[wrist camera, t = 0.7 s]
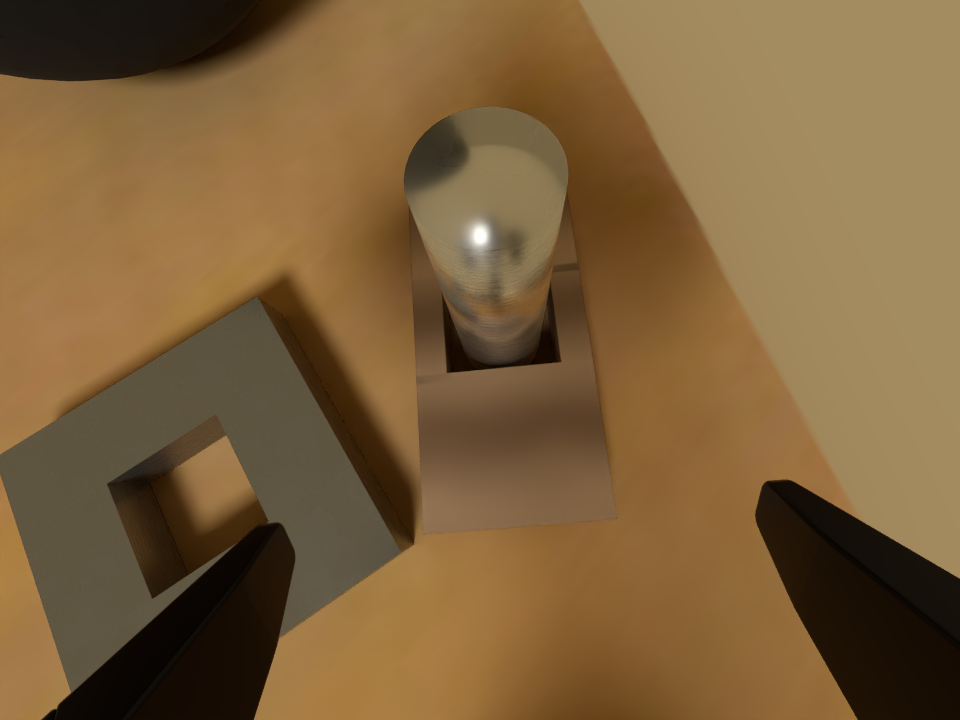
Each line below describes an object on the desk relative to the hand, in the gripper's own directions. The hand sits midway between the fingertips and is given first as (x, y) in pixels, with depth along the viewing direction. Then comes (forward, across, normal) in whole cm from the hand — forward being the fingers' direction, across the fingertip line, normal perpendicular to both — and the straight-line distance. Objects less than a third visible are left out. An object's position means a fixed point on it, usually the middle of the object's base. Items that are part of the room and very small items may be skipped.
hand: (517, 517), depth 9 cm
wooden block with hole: (+15, 0, +4) cm, 15 cm away
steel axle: (+15, 0, +4) cm, 16 cm away
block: (+10, +14, +9) cm, 20 cm away
